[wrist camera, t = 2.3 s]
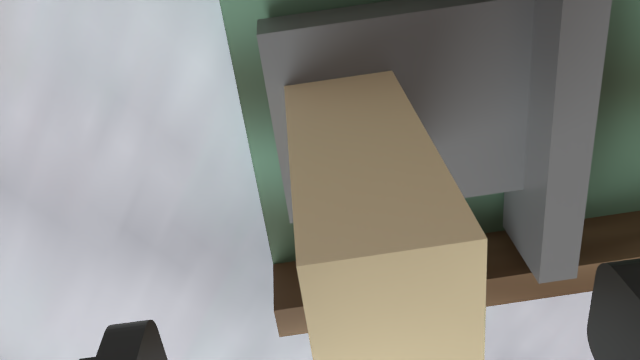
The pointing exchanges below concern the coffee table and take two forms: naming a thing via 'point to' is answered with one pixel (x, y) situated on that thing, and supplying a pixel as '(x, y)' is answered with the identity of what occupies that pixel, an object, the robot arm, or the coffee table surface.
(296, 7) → the channel
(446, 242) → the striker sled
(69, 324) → the coffee table surface
